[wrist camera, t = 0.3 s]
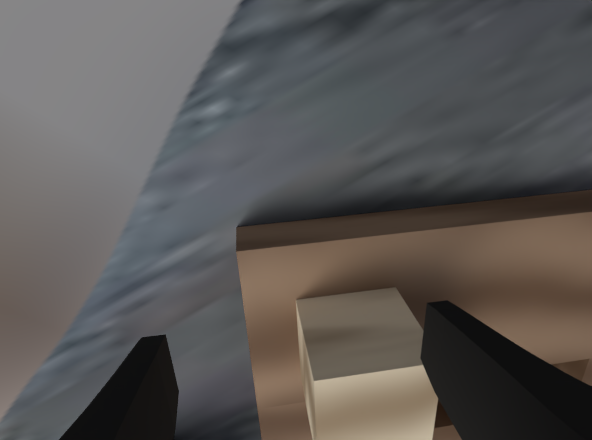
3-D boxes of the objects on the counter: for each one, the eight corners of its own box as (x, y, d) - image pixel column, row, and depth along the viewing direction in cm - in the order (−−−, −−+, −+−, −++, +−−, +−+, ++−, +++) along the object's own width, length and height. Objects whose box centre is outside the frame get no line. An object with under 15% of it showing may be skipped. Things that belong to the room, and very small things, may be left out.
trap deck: (639, 379, 29) (673, 408, 27) (264, 439, 26) (266, 477, 24) (728, 175, 22) (783, 190, 20) (236, 227, 20) (236, 251, 17)
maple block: (390, 362, 22) (431, 448, 17) (300, 376, 21) (317, 467, 17) (395, 287, 19) (443, 362, 15) (295, 299, 19) (313, 381, 14)
